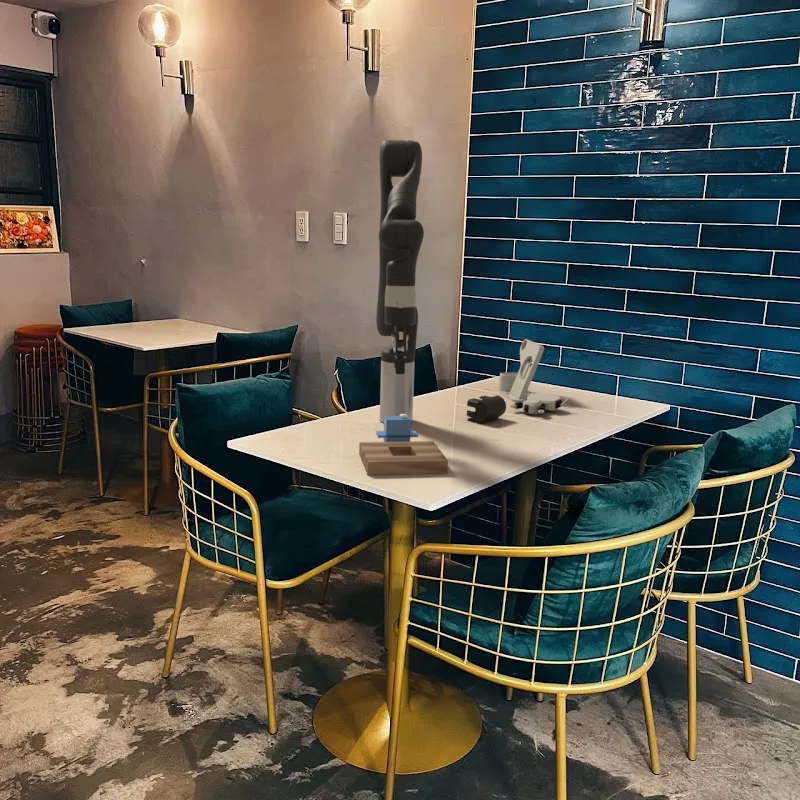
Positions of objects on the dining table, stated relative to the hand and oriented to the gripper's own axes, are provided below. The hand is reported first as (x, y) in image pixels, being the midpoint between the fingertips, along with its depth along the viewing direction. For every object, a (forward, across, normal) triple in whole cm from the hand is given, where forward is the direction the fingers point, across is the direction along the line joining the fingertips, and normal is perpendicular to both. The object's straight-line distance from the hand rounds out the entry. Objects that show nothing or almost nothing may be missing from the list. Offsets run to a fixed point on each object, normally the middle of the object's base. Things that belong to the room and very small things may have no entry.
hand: (399, 371), depth 195 cm
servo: (+19, 0, 0) cm, 19 cm away
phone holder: (+17, -63, +42) cm, 78 cm away
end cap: (+18, -29, +26) cm, 43 cm away
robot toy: (+18, -41, +44) cm, 63 cm away
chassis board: (+20, +14, 0) cm, 24 cm away
